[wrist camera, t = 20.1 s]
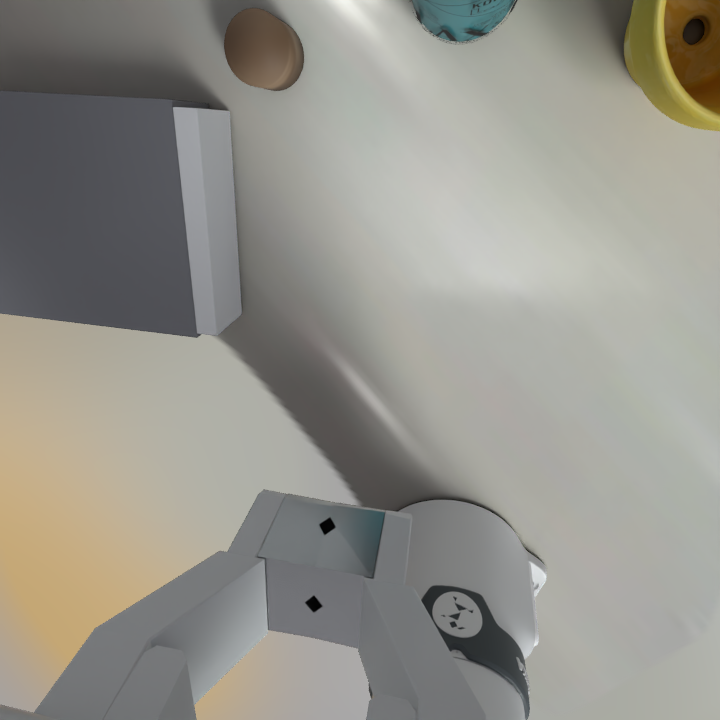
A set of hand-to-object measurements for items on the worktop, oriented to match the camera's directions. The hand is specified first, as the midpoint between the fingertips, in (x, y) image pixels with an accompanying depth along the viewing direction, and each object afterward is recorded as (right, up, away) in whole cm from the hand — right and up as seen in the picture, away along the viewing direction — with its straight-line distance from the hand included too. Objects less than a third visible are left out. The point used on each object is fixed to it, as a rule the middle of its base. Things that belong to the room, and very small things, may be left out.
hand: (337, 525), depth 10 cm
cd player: (-20, +15, +29) cm, 38 cm away
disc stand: (-5, +24, +23) cm, 33 cm away
